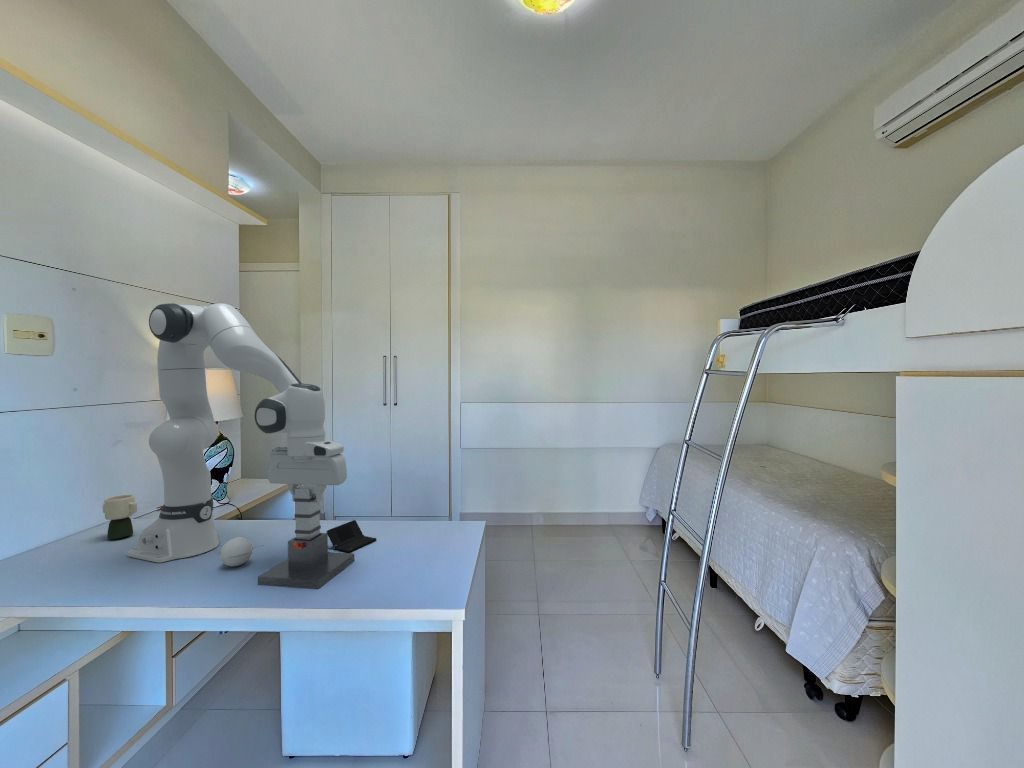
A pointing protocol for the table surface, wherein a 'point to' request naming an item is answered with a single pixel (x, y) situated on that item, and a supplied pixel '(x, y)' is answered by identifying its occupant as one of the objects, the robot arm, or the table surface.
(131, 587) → the table surface
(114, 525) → the character mug
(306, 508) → the column
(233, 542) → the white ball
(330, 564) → the stand base
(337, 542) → the handheld gaming console
